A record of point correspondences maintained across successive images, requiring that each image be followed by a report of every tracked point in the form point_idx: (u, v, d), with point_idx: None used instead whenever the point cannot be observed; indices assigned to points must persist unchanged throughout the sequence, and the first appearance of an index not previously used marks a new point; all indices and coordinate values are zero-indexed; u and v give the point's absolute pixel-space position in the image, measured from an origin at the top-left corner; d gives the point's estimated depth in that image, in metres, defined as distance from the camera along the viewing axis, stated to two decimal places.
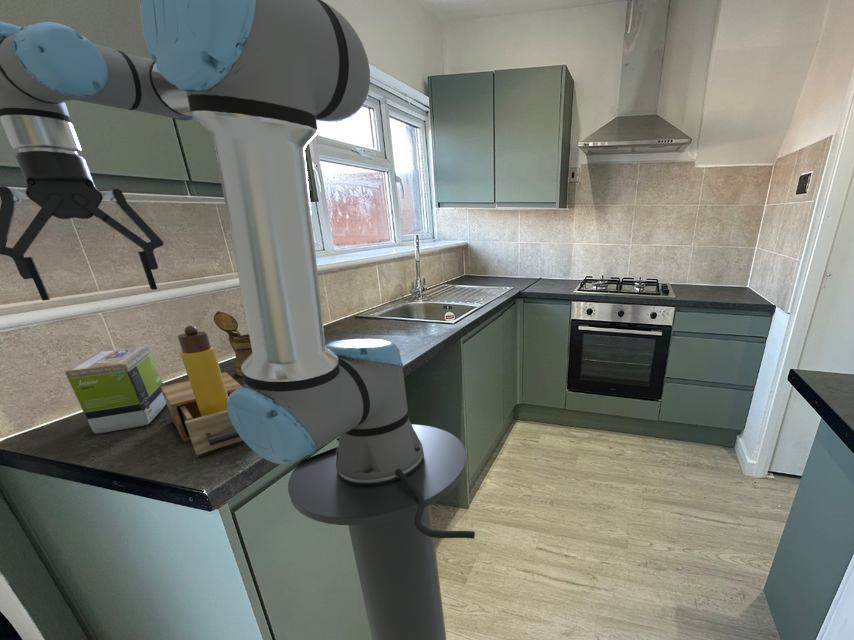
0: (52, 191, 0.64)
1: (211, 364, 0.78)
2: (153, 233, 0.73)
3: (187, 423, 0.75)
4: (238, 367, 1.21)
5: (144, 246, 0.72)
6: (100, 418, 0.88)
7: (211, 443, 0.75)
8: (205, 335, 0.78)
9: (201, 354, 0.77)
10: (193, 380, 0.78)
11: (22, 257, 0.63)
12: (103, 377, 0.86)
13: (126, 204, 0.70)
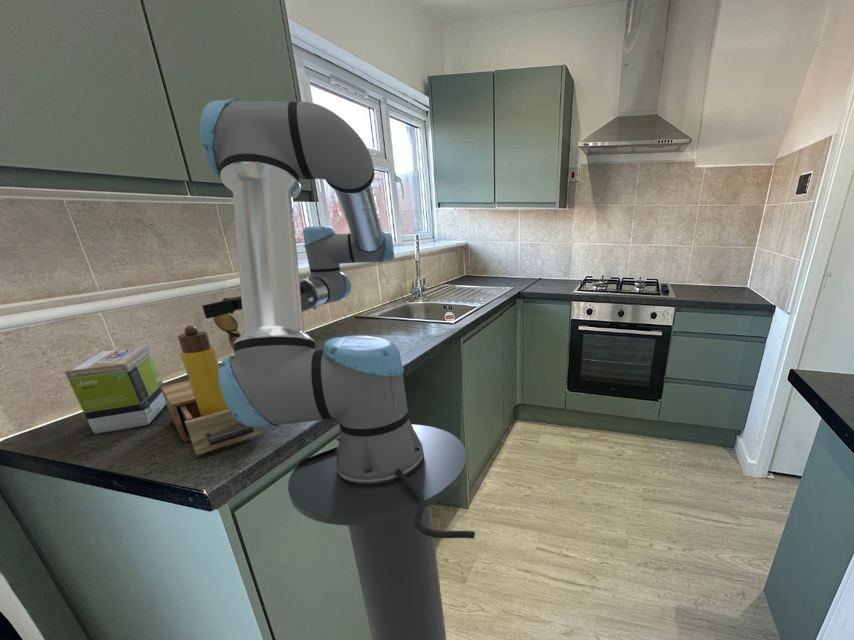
0: None
1: (211, 364, 0.78)
2: (300, 299, 0.91)
3: (187, 423, 0.75)
4: None
5: None
6: (100, 418, 0.88)
7: (211, 443, 0.75)
8: (205, 335, 0.78)
9: (201, 354, 0.77)
10: (193, 380, 0.78)
11: None
12: (103, 377, 0.86)
13: (306, 295, 0.95)
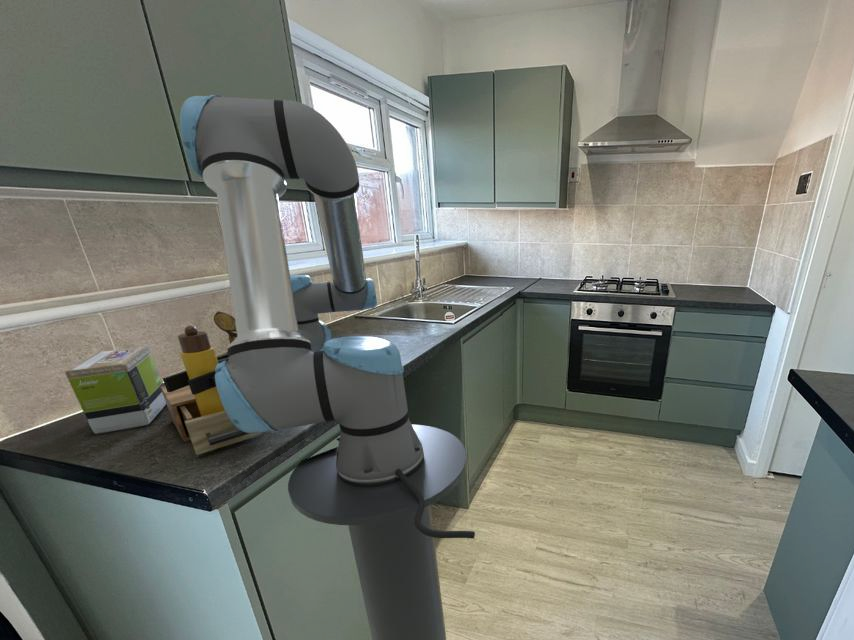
0: None
1: (211, 364, 0.78)
2: None
3: (187, 423, 0.75)
4: None
5: None
6: (100, 418, 0.88)
7: (211, 443, 0.75)
8: (205, 335, 0.78)
9: (201, 354, 0.77)
10: None
11: None
12: (103, 377, 0.86)
13: None
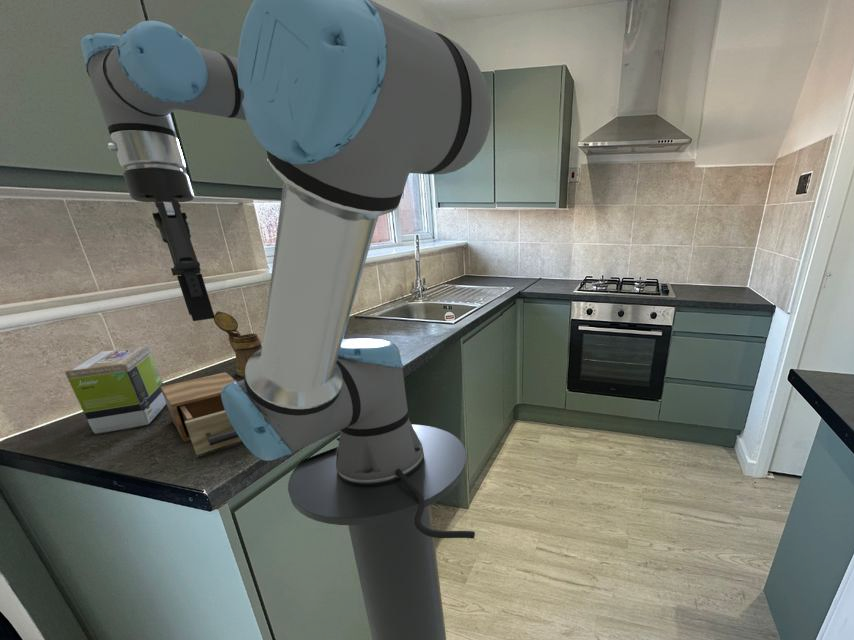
0: None
1: None
2: None
3: (187, 423, 0.75)
4: (238, 367, 1.21)
5: None
6: (100, 418, 0.88)
7: (211, 443, 0.75)
8: None
9: None
10: None
11: None
12: (102, 377, 0.86)
13: None
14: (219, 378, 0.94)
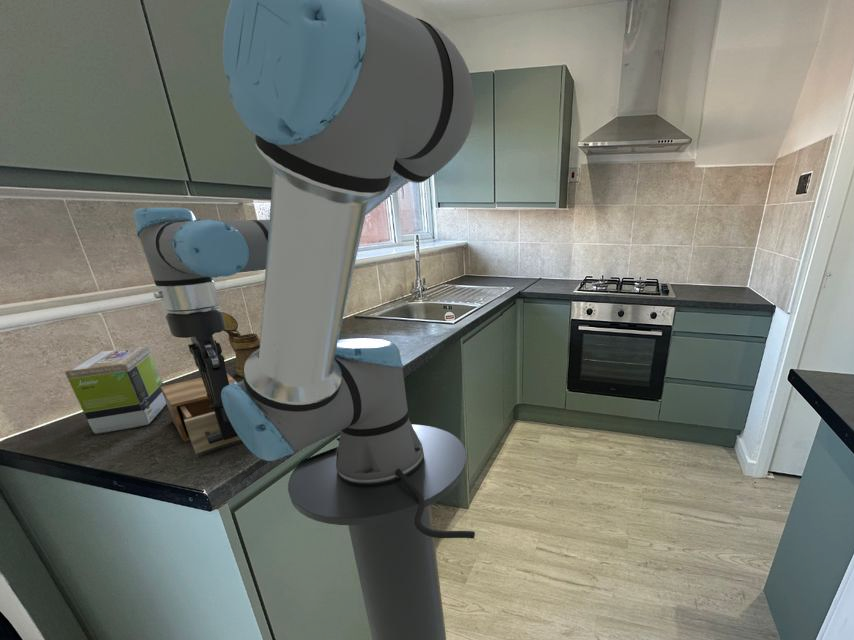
0: None
1: None
2: None
3: (186, 422, 0.76)
4: (238, 367, 1.21)
5: None
6: (100, 418, 0.88)
7: (210, 442, 0.75)
8: None
9: None
10: None
11: None
12: (103, 377, 0.86)
13: None
14: None
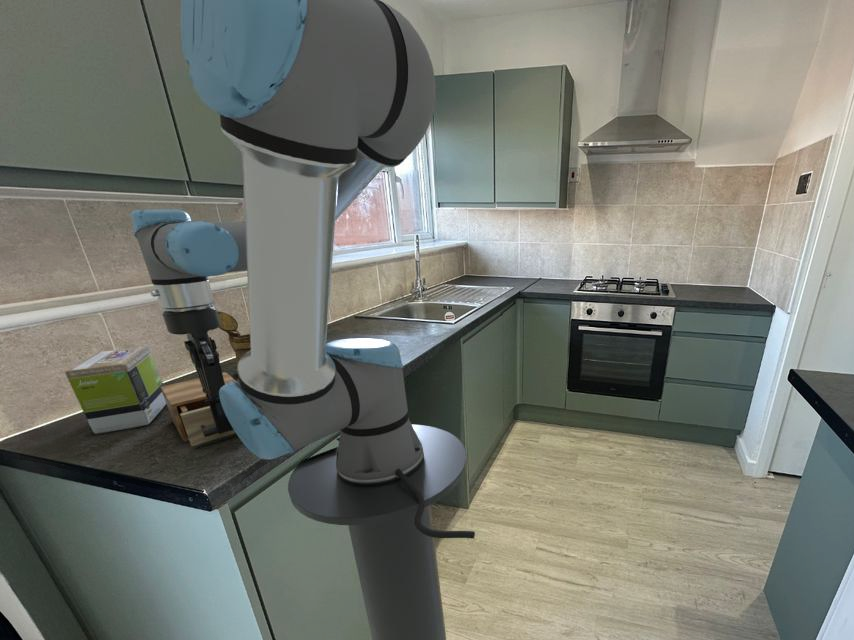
0: None
1: None
2: None
3: (182, 415, 0.78)
4: None
5: None
6: (100, 418, 0.88)
7: (205, 435, 0.78)
8: None
9: None
10: None
11: None
12: (102, 377, 0.86)
13: None
14: None
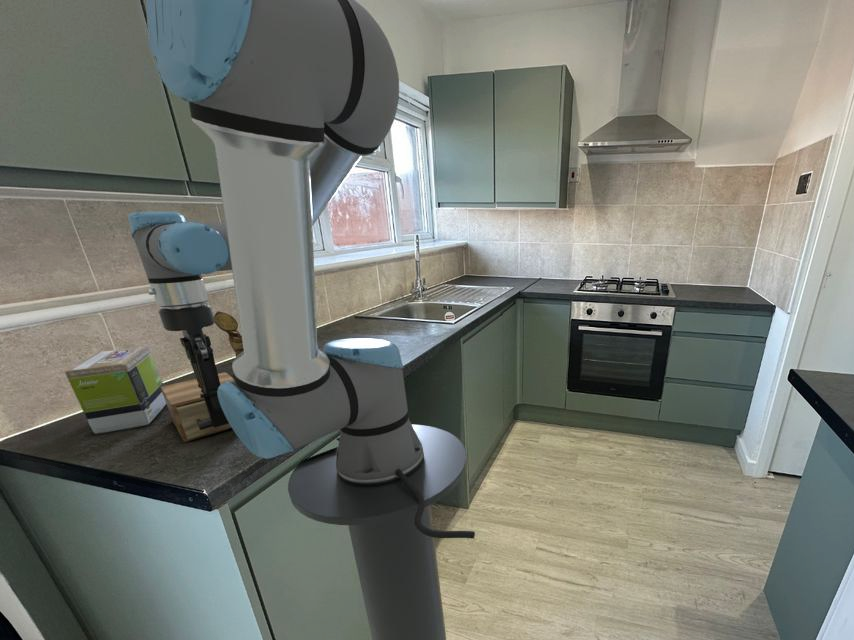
0: None
1: None
2: None
3: (178, 409, 0.81)
4: None
5: None
6: (100, 418, 0.88)
7: (201, 428, 0.81)
8: None
9: None
10: None
11: None
12: (102, 377, 0.86)
13: None
14: (219, 378, 0.94)
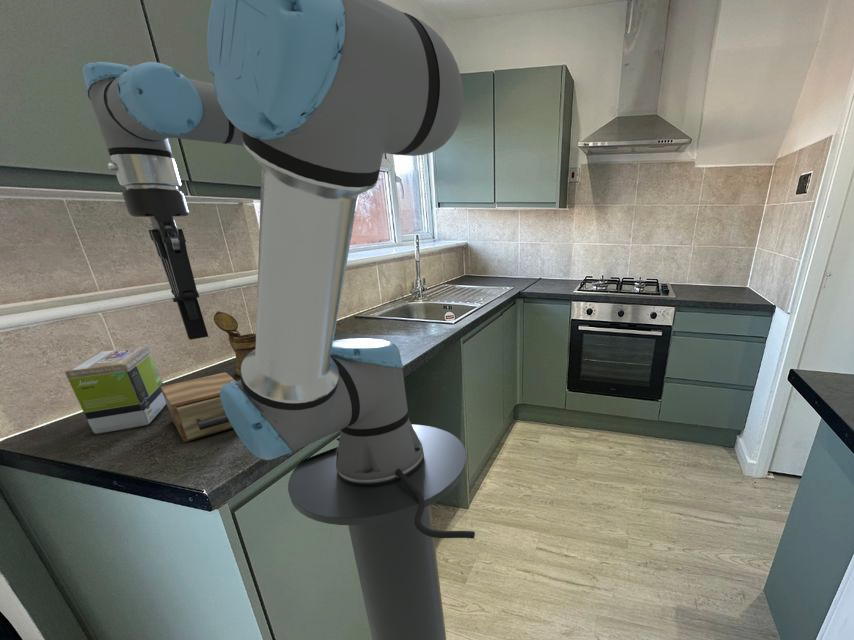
0: None
1: None
2: None
3: (178, 409, 0.81)
4: (238, 367, 1.21)
5: None
6: (100, 418, 0.88)
7: (201, 428, 0.81)
8: None
9: None
10: None
11: None
12: (102, 377, 0.86)
13: None
14: (219, 378, 0.94)
